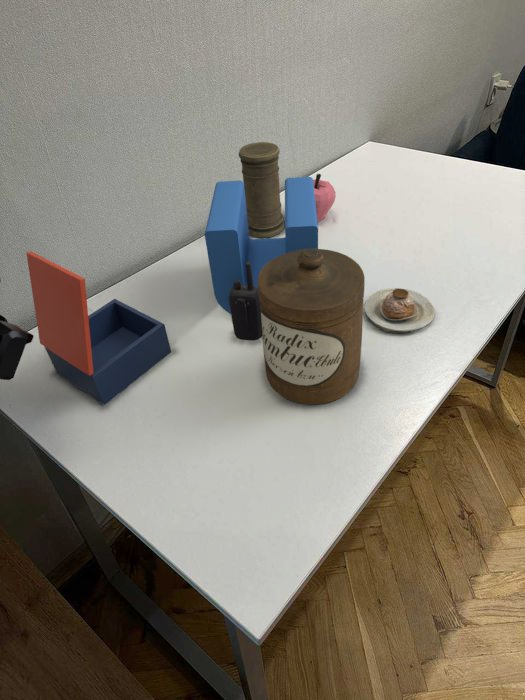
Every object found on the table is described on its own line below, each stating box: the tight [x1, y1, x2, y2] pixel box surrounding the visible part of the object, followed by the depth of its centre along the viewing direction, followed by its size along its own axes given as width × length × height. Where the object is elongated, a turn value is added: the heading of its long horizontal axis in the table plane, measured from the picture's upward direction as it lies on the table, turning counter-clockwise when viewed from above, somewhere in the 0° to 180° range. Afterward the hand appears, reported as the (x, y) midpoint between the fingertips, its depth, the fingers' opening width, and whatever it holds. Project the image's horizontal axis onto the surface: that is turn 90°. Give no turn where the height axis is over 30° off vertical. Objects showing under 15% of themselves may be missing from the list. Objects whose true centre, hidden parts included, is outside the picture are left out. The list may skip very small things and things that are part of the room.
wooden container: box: [258, 248, 366, 405], centre depth 73 cm, size 15×15×22 cm
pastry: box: [364, 287, 435, 334], centre depth 88 cm, size 12×12×5 cm
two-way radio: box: [229, 262, 263, 342], centre depth 83 cm, size 6×4×15 cm
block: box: [204, 176, 319, 315], centre depth 92 cm, size 18×18×18 cm
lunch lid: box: [26, 251, 94, 376], centre depth 73 cm, size 15×13×1 cm
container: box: [238, 141, 285, 239], centre depth 109 cm, size 9×9×18 cm
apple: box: [313, 173, 337, 222], centre depth 114 cm, size 10×9×10 cm
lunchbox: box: [44, 298, 172, 406], centre depth 83 cm, size 15×13×6 cm
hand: (31, 337), depth 71 cm, fingers closed
